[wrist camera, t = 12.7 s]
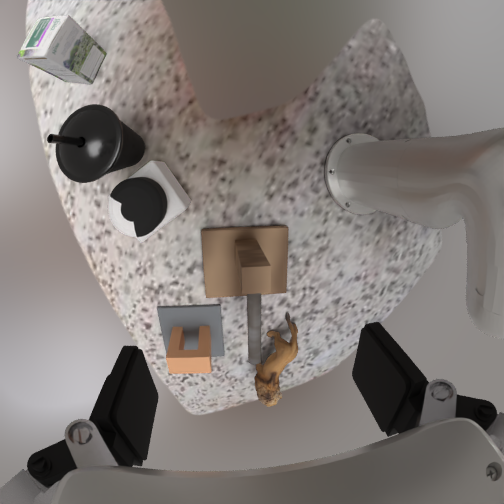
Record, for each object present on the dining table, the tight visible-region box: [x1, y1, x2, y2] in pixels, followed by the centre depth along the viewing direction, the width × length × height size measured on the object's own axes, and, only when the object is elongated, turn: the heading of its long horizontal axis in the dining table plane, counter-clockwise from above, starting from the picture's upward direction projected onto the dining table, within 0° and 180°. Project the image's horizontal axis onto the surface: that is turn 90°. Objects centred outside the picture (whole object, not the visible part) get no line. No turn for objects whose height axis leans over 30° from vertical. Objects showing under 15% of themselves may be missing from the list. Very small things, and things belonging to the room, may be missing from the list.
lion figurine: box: [254, 313, 298, 407], centre depth 41 cm, size 15×5×9 cm, turn 163°
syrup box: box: [17, 15, 106, 84], centre depth 21 cm, size 6×6×14 cm
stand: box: [201, 226, 288, 365], centre depth 35 cm, size 12×16×12 cm
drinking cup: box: [47, 104, 145, 183], centre depth 23 cm, size 8×8×20 cm
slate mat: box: [157, 304, 224, 357], centre depth 42 cm, size 10×10×1 cm
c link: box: [166, 326, 211, 373], centre depth 38 cm, size 6×3×8 cm, turn 90°
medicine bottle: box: [108, 160, 191, 243], centre depth 30 cm, size 7×7×12 cm
